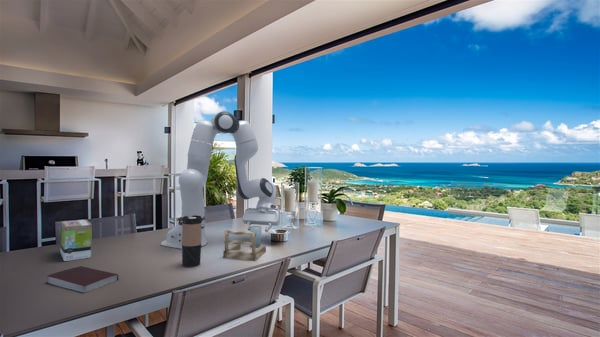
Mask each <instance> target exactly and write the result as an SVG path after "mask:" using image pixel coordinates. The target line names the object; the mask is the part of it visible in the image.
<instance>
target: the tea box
mask: <svg viewBox="0 0 600 337" xmlns="http://www.w3.org/2000/svg"><path fill="white" fill-rule="evenodd" d="M92 226H93V225H92V223H91V222H89V220H87V219H77V220H76V219H75V220H64V221H63V220H62V221H61V222H60V251H59V253H60V255H61V257H62V261H64V262H68V261H77V260H84V259H90V258H91V257H92V232H93V231H92V230H93V229H92V228H93V227H92Z"/></svg>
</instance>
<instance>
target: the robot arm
mask: <svg viewBox="0 0 600 337" xmlns="http://www.w3.org/2000/svg"><path fill="white" fill-rule="evenodd" d="M218 134H230V135H232V137H233V139H234V142H235V147H236V152H235V153H236V154H235V155H234V159H233V160H234V167H235V168H234V169H235V174H236V179H237V180H236V181H237V193H238V195H239V196H240V198H242V199H244V200H250V199H254V198H258V199H259V200H258V201H257V203H256V207H248V208H247V209H245V210H244V212H243V215H242V217H241V221H242V224H244V225H245V224H246V225H247V232H251V227H252V226H251V225H257V226H262V225H263V226H266V227H265V229H264V232H265V233H268V232H269V231H270V230H271V229H272V228H273V226H275V227H278V226H279V225H280V223H281V211H280V208H279V206H278V205H277V204H274V203H275V202H276V197H277V187H276V184H274V183H272V182H270V181H269V180H268V179H267V178H265V177H261V178H256V179H252V180H248V177H247V170H246V164H247V162H248V161H249V160H251V159H252V158H253V157H254V156H255V155H256V154H257V152H258V149H259V144H258V140H257V138H256V134H255V132H254V129H253V128H252V126H251V123H250V122H249V121H247V120H239V119H237V118H236V116H234V115H233V114H232V113H231V112H229V111H225V110H223V111H219V112H217V113H216V114H215V115H214V116H213V117H212V119H211V120H200V121H199V120H198V121H197V123H196V124H195V127H194V128H193V132H192V134H191V138H190V142H189V147H188V152H187V164H186V169H185V170H183V171H182V172H181V173H180V174H179V176H178V184H179V191H180V198H181V216H180V217H178V218H177V219H176V222H178V223H177V224H175V225H174V227H173V228H171V229H170V230H168V231H167V233H166V236H165V239H164V240H163V241H161V243H160V245H161V246H164V247H169V248H175V249H181V250H182V224H183V217H184V216H187V217H192V216H193V215H197V216H201V247H204V246H206V245H207V244H208V241H207V238H206V237H207V236H206V233H205V232H206V230H205V226H206V217H205V198H204V189H203V188H204V186H205V185H206V183H207V180H208V176H209V169H210V168H209V167H210V159H211V155H212V151H213V147H214V146H213V145H214V142H215V139H216V136H217V135H218Z"/></svg>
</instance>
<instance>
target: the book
mask: <svg viewBox="0 0 600 337" xmlns="http://www.w3.org/2000/svg"><path fill="white" fill-rule="evenodd" d="M46 276H47V277H48V279H47V280H48V281H46V282H47V283H46V284H47V285H52V286H57V287H60V288H65V289H69V290H73V291H76V292H81V293H84V294H85V293H88V292H90V291H94V290H96V289H98V288H100V287H103V286H106V285H109V284H110V283H114V282H117V281H119V274H117V273H115V272H110V271H105V270H100V269H96V268H91V267H87V266H82V265H81V266H76V267H73V268H72V267H71V268H68V269H65V270H64V269H63V270H60V271H57V272H54V273H51V274H49V275H46Z"/></svg>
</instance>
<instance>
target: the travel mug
mask: <svg viewBox="0 0 600 337" xmlns="http://www.w3.org/2000/svg"><path fill="white" fill-rule="evenodd" d="M201 255H202V246H201V216H197V215H193V216H192V217H187V216H184V217H183V224H182V249H181V265H182V267H185V268H194V267H198V266H200V265H201V257H202V256H201Z"/></svg>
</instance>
